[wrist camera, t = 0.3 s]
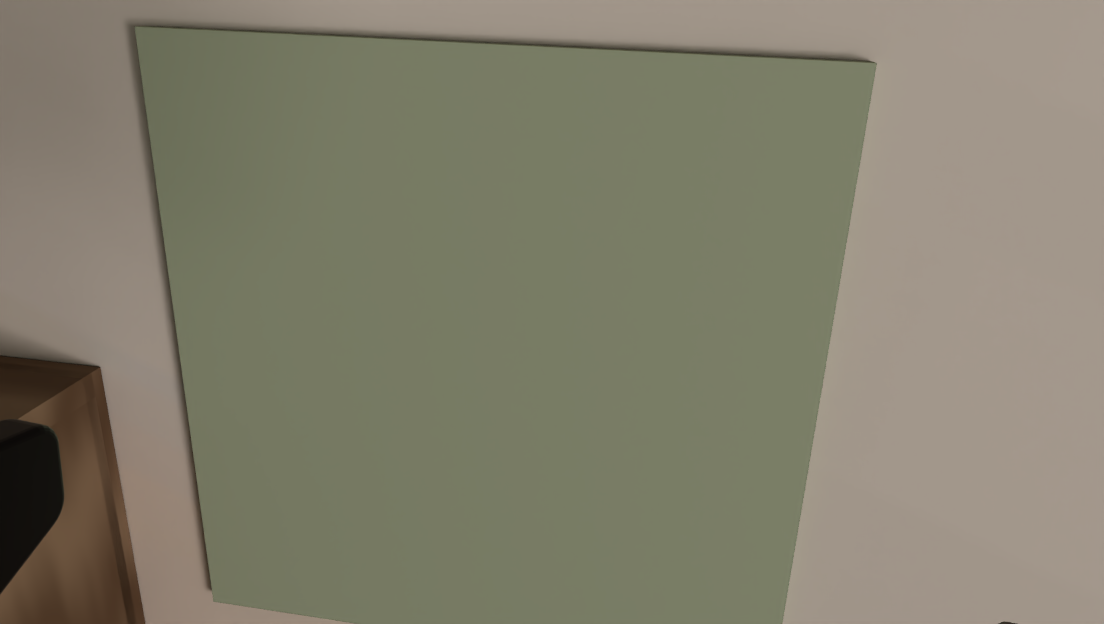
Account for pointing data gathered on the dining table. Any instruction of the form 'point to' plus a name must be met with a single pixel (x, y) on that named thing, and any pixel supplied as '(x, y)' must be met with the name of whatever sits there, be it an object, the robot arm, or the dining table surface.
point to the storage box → (73, 504)
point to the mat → (500, 319)
